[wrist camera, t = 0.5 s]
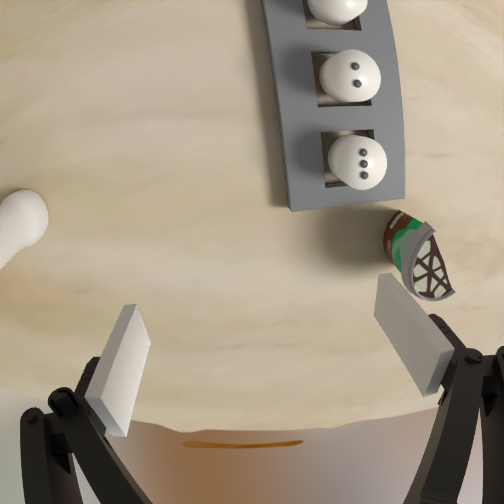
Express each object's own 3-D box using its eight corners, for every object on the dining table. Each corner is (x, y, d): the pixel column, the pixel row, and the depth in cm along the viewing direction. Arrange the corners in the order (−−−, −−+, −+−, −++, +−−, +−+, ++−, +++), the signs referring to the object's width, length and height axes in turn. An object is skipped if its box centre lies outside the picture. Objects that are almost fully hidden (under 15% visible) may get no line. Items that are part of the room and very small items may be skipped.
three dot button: (325, 135, 34) (337, 138, 31) (371, 133, 34) (386, 136, 31) (329, 184, 37) (340, 192, 33) (373, 179, 37) (388, 187, 33)
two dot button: (316, 55, 30) (326, 48, 26) (363, 55, 30) (377, 50, 26) (322, 103, 33) (333, 101, 29) (368, 102, 33) (384, 101, 29)
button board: (256, -27, 27) (257, -34, 25) (373, -22, 27) (379, -26, 25) (288, 207, 40) (291, 212, 38) (397, 194, 40) (404, 198, 38)
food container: (362, 226, 42) (394, 257, 33) (395, 202, 41) (434, 227, 32) (393, 284, 47) (423, 320, 38) (422, 262, 45) (456, 294, 36)
